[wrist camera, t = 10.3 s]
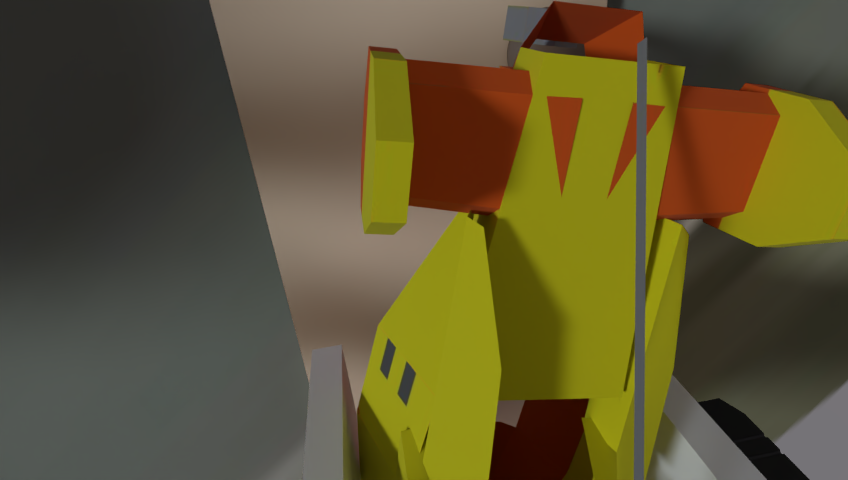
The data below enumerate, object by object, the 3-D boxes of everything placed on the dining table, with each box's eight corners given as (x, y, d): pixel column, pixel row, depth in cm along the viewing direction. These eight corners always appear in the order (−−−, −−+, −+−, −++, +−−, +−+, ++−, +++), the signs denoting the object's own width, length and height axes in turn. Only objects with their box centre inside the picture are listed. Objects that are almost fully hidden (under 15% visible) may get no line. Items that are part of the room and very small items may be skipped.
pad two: (207, -30, 11) (199, -33, 10) (599, -71, 12) (613, -75, 11) (354, 543, 20) (355, 561, 19) (572, 496, 21) (580, 511, 20)
